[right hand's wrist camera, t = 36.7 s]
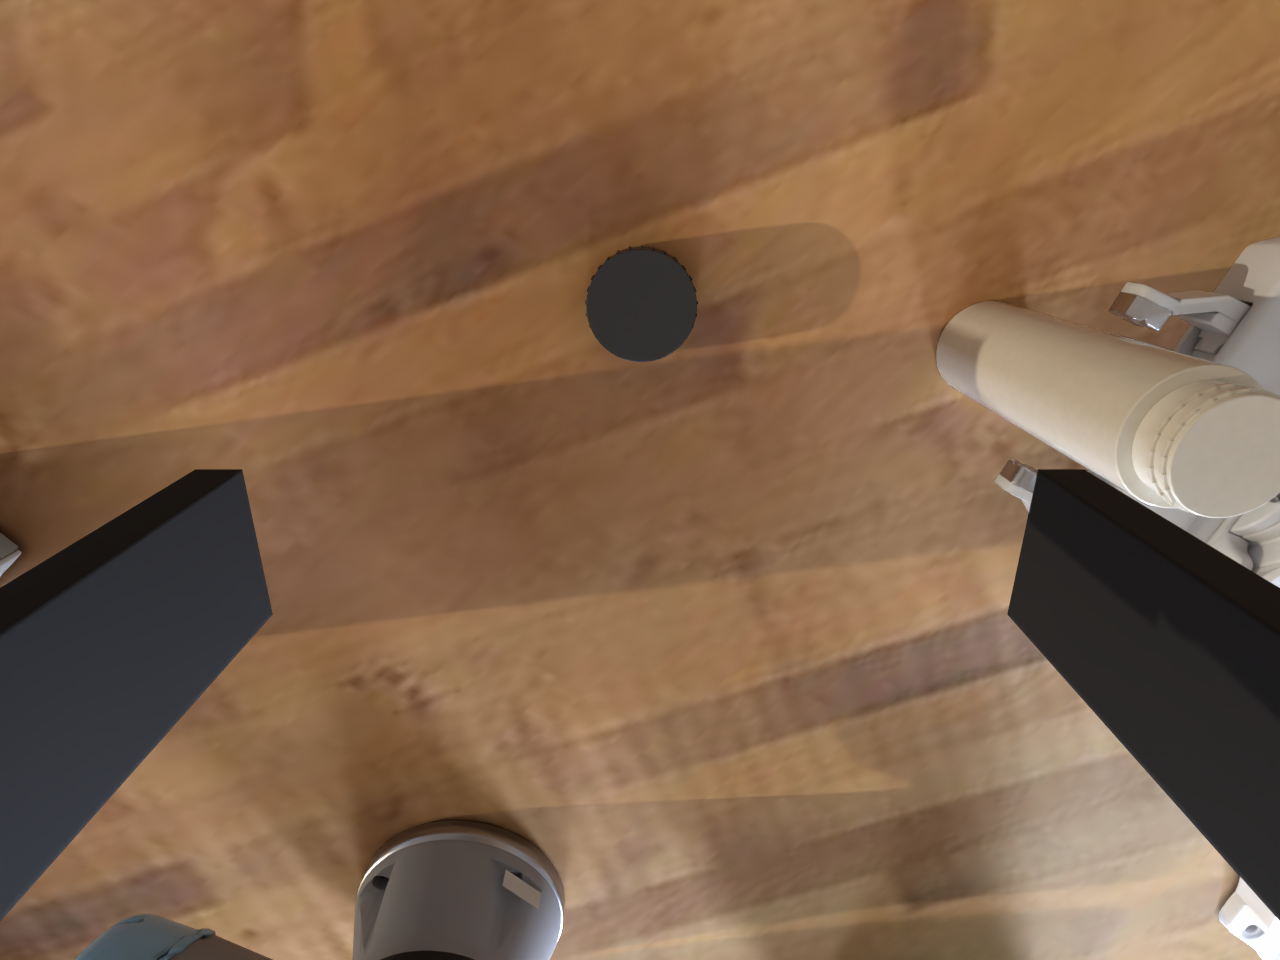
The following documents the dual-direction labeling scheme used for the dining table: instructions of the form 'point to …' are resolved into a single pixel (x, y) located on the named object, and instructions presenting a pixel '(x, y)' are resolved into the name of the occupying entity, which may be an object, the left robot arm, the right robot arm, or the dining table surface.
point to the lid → (641, 304)
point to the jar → (1121, 407)
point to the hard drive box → (7, 553)
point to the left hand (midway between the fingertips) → (1063, 389)
